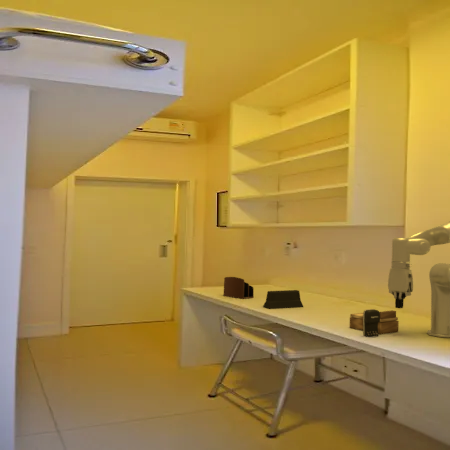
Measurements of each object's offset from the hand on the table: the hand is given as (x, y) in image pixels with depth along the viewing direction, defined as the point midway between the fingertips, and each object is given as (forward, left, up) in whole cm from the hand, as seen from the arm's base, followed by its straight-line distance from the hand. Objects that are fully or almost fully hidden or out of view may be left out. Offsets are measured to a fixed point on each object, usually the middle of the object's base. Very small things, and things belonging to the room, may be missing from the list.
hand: (399, 307), depth 214 cm
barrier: (+88, -9, -13) cm, 89 cm away
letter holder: (+138, -11, -13) cm, 139 cm away
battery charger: (+5, +11, -12) cm, 18 cm away
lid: (+14, -1, -7) cm, 16 cm away
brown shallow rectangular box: (+14, -1, -12) cm, 19 cm away
